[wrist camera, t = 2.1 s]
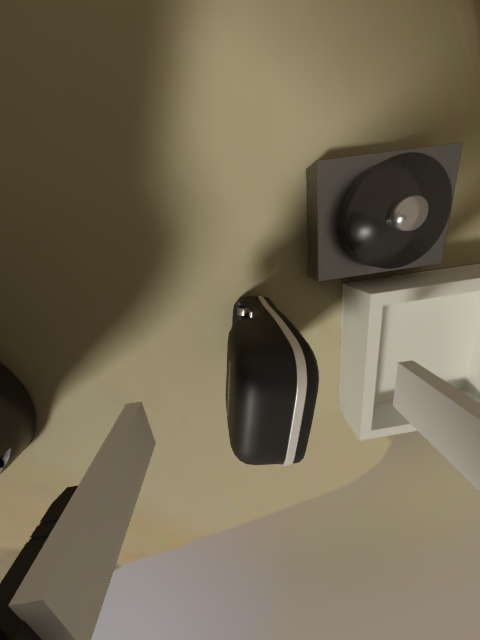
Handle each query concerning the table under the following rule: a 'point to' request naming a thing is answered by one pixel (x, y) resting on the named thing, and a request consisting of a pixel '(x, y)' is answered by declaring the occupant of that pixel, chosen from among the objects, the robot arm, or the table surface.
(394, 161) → the speaker
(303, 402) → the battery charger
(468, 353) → the tray
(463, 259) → the table surface
